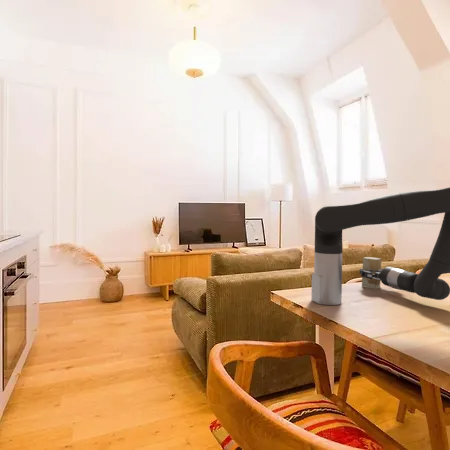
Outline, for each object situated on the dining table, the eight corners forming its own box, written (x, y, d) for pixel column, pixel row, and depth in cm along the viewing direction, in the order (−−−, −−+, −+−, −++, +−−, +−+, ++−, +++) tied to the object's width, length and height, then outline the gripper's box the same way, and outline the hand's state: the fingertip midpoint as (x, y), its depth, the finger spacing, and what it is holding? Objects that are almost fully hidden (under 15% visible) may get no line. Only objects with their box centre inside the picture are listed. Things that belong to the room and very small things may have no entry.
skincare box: (361, 286, 143) (361, 257, 142) (365, 285, 146) (366, 256, 145) (377, 289, 138) (377, 259, 138) (381, 287, 141) (381, 258, 141)
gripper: (412, 267, 129) (384, 261, 145) (379, 268, 126) (354, 262, 142) (412, 287, 129) (383, 278, 145) (379, 288, 126) (354, 280, 142)
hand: (369, 270), depth 143 cm, fingers open, 8 cm apart
